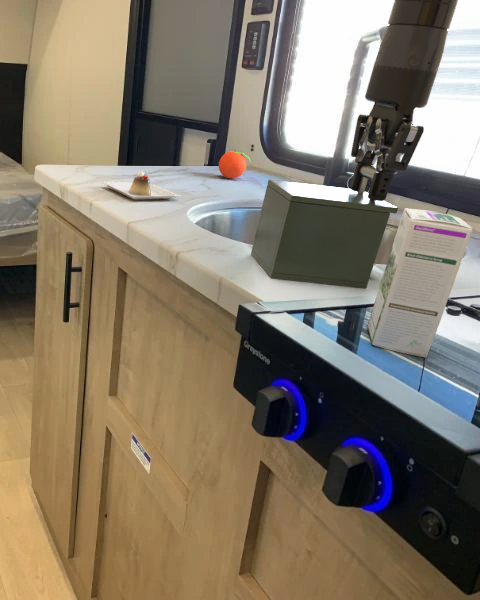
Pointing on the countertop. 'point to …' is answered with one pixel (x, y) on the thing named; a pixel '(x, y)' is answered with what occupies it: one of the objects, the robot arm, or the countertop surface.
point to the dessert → (140, 189)
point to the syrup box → (417, 280)
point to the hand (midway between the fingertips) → (366, 195)
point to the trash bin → (317, 241)
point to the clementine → (232, 164)
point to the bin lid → (334, 193)
